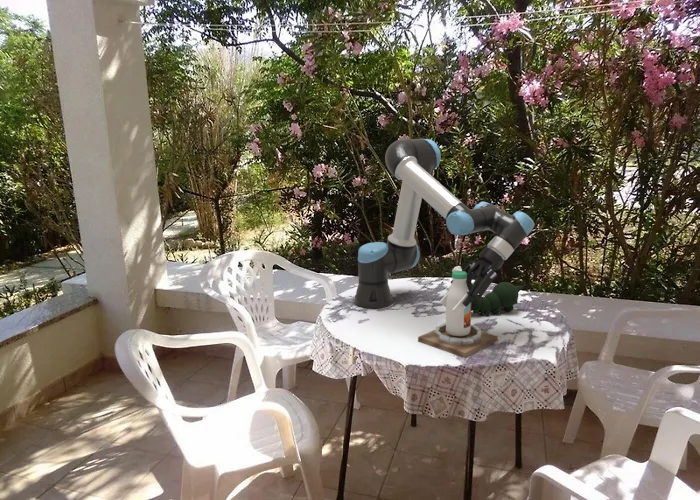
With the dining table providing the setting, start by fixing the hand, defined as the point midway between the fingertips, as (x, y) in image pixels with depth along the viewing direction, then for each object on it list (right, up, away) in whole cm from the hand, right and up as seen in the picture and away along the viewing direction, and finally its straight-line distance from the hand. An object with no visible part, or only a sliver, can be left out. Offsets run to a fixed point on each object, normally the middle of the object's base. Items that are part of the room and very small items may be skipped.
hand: (449, 308), depth 165 cm
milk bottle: (+3, -8, +3) cm, 9 cm away
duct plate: (+3, -11, +3) cm, 12 cm away
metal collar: (+3, -10, +3) cm, 11 cm away
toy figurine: (+21, -5, +29) cm, 37 cm away
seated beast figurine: (+14, 0, +51) cm, 53 cm away
